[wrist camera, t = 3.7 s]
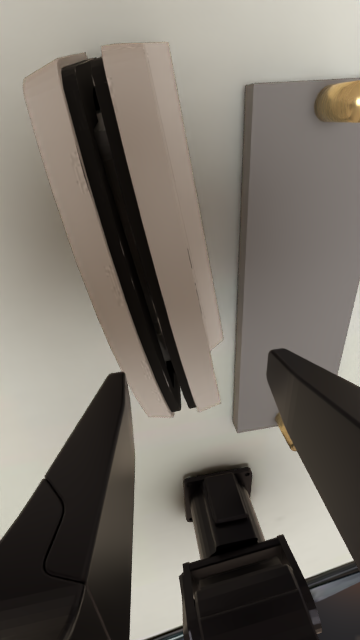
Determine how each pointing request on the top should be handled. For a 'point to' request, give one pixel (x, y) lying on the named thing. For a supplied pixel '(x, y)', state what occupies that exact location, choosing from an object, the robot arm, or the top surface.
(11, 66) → the top surface
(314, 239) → the plate
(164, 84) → the curved beige panel
